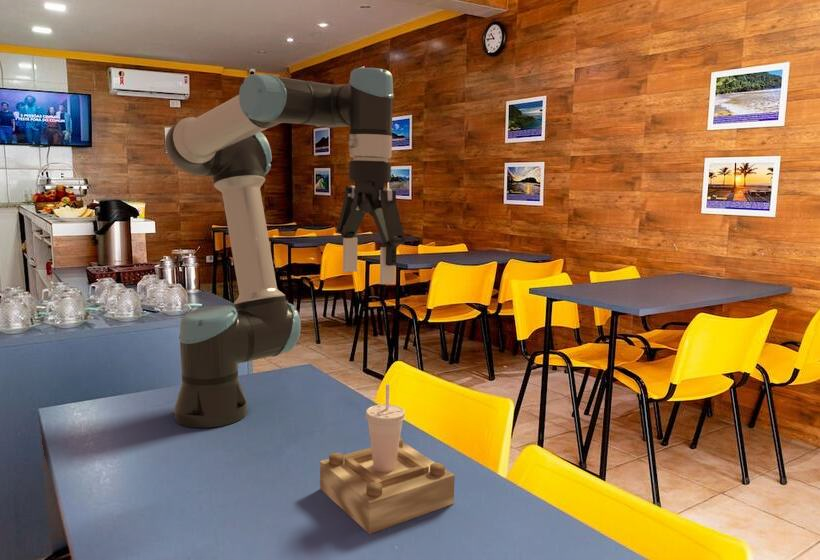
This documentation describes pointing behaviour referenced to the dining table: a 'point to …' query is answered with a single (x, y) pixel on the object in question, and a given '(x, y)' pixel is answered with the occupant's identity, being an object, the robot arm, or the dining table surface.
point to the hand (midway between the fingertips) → (367, 277)
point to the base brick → (386, 487)
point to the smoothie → (385, 433)
